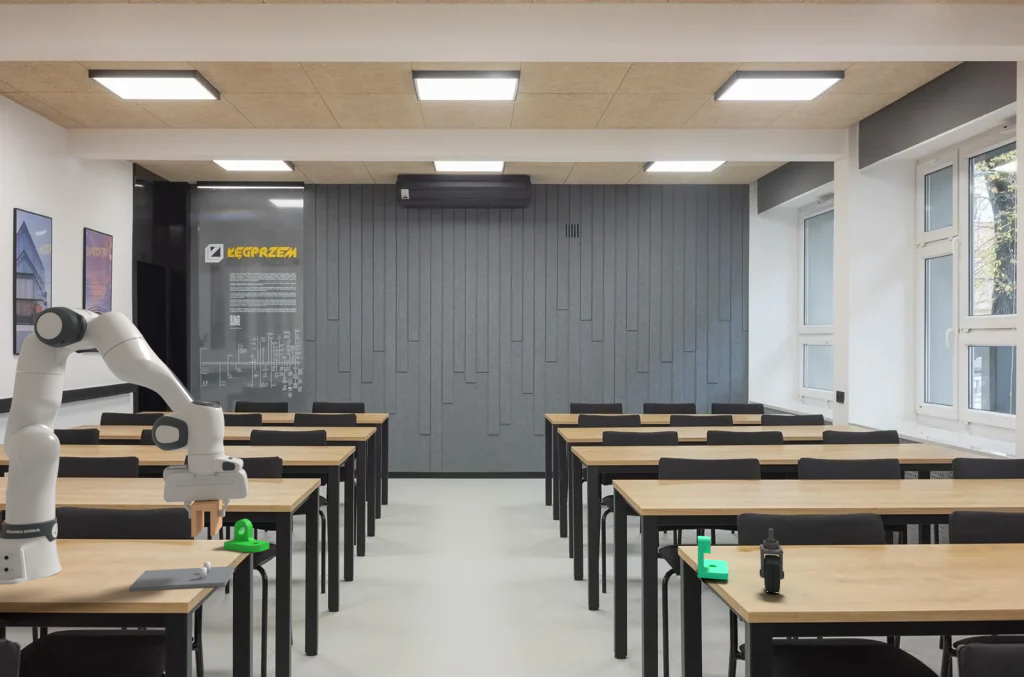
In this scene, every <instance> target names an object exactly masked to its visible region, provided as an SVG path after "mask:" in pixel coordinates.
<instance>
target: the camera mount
mask: <svg viewBox="0 0 1024 677" xmlns="http://www.w3.org/2000/svg"><path fill="white" fill-rule="evenodd" d="M711 537H712V536H704V535H698V536H697V578H698V579H699V578H702V579H715V580H729V567H728V561H726V560H719V559H706V558H705V554H708V555H711V552H712V550H711V546H712V545H711V543H712V542H711Z"/></svg>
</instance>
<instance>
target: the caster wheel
mask: <svg viewBox="0 0 1024 677" xmlns="http://www.w3.org/2000/svg"><path fill="white" fill-rule="evenodd" d="M759 550H760V551H759V552H760V553H759V554H760V555H759V556H760V558H759V559H760V569H759V577H760V578H761V579H763V581H764V582H763V583H764V591H765V590H766V591H768V592H779V593H780V591H781V580H784V579H785V571H784V557H783V556H784V551H783V548H782V545H780V542H779V541H778V540H776V539H775V538H774V528H768V538H766V539H764V540H763V541H762V544H759ZM766 591H765V592H766Z"/></svg>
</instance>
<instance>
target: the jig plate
mask: <svg viewBox="0 0 1024 677" xmlns="http://www.w3.org/2000/svg"><path fill="white" fill-rule="evenodd" d="M234 572H235V566H234V565H231V566H230V565H229V566H211V561H204V562H203V567H191V568H190V567H188V568H170V569H169V568H167V569H152V570H150V569H149V570H145V571H144V572H143V573H141V575H140V576H139V577H138V578H137V579H136V580H134V582H133V583H132V584H131V585H130V586H129V589H128V591H129V592H139V591H141V592H143V591H144V592H145V591H158V590H159V591H161V590H179V589H180V590H181V589H199V588H200V589H202V588H203V589H204V588H219V587H220V588H221V587H226V585H227V584H228V582H229V580H230V579H231V577H232V576H233V573H234Z"/></svg>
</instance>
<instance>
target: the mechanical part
mask: <svg viewBox="0 0 1024 677" xmlns="http://www.w3.org/2000/svg"><path fill="white" fill-rule="evenodd" d="M253 529H254V526H253V524H252V522H251V521H250V520H249V518H243V519H239V520H237V521H235V524H234V526H233V539H230V540H227V541H224V542H223V550H229V551H230V550H231V551H237V552H242V553H250V554H251V553H261V552H263V551H266V550H270V541H266V540H259V539H255V538H254V536H253V535H254V531H253Z"/></svg>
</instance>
